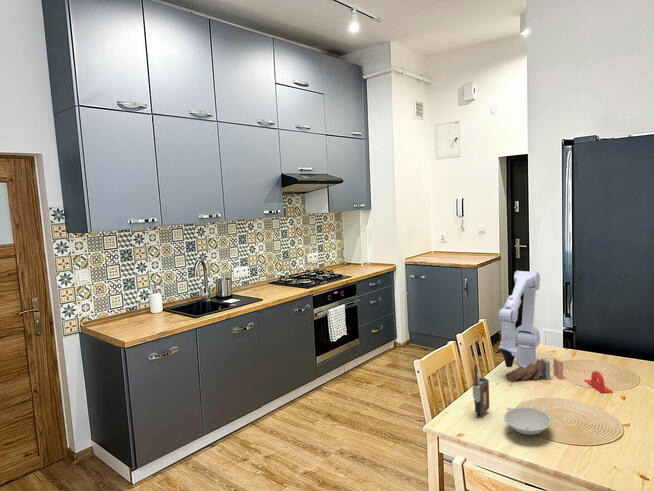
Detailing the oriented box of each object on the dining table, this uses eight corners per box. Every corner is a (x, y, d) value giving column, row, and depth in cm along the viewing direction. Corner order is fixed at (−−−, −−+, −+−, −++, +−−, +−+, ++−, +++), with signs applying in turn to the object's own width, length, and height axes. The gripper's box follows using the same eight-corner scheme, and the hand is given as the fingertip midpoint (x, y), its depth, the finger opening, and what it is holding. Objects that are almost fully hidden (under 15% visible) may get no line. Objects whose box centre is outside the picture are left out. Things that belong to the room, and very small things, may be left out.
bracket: (613, 394, 173) (612, 374, 173) (601, 394, 174) (601, 375, 173) (595, 382, 185) (595, 363, 185) (584, 382, 185) (584, 364, 185)
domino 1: (521, 378, 190) (536, 367, 189) (517, 374, 195) (531, 362, 194) (524, 381, 190) (538, 369, 189) (519, 377, 195) (533, 365, 194)
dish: (513, 416, 160) (513, 403, 160) (557, 427, 151) (557, 413, 151) (497, 437, 147) (496, 423, 147) (544, 450, 138) (543, 435, 137)
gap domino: (546, 380, 189) (546, 362, 189) (540, 376, 194) (540, 358, 194) (550, 380, 189) (550, 362, 189) (544, 376, 194) (544, 358, 194)
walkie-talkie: (479, 420, 159) (477, 366, 157) (467, 416, 162) (466, 363, 160) (490, 411, 165) (488, 359, 163) (478, 408, 168) (477, 356, 166)
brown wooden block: (509, 378, 190) (526, 370, 189) (505, 374, 195) (521, 366, 194) (511, 382, 190) (528, 373, 189) (507, 377, 195) (523, 369, 194)
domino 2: (533, 379, 190) (542, 363, 189) (528, 374, 194) (537, 359, 194) (536, 381, 190) (546, 364, 189) (531, 376, 195) (540, 360, 194)
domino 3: (559, 380, 189) (558, 362, 188) (553, 375, 194) (553, 357, 193) (563, 380, 189) (562, 361, 188) (557, 375, 194) (557, 357, 193)
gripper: (493, 331, 198) (494, 361, 199) (505, 341, 184) (505, 373, 185) (509, 331, 198) (509, 360, 199) (522, 340, 183) (522, 372, 185)
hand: (509, 366), depth 192 cm, fingers closed
